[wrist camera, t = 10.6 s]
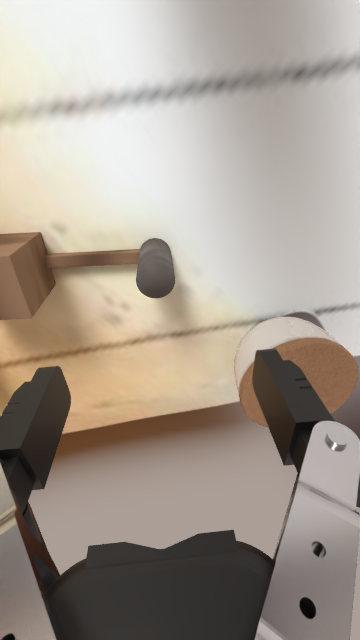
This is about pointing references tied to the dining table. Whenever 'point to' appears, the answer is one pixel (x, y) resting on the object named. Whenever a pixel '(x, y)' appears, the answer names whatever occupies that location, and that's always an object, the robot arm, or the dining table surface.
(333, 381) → the lidded jar
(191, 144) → the dining table surface
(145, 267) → the tow block
